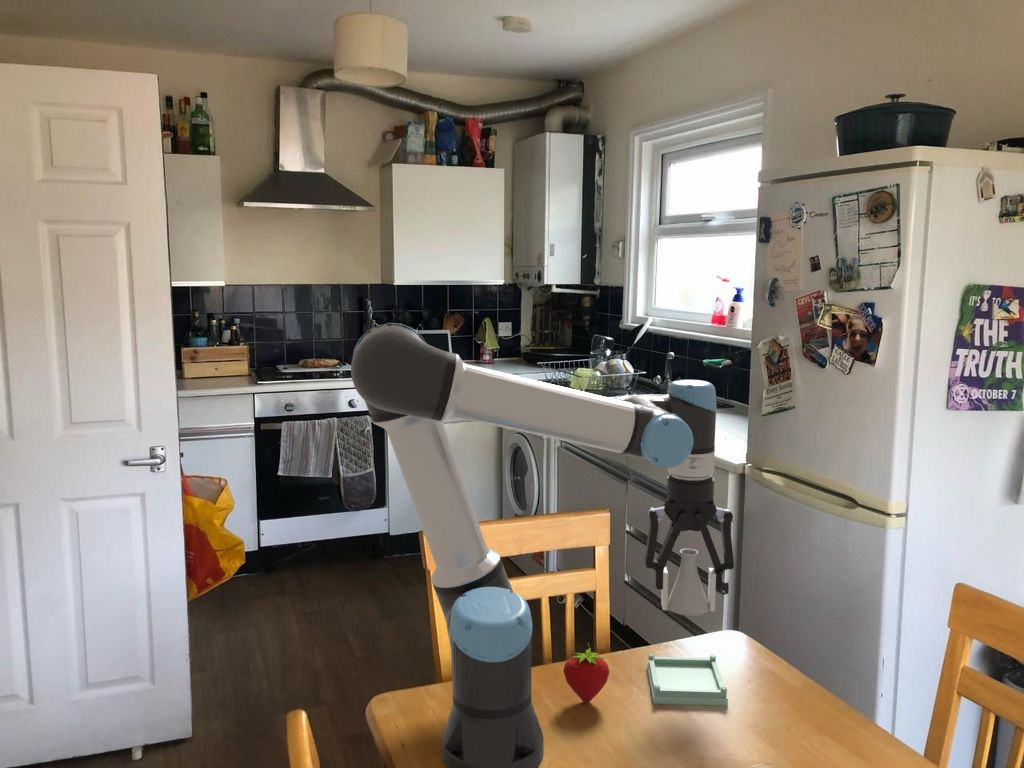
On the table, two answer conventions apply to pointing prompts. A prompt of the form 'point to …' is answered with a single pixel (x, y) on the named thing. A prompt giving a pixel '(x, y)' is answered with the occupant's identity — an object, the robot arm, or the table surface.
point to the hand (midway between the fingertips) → (687, 607)
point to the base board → (686, 681)
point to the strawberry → (586, 674)
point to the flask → (688, 588)
